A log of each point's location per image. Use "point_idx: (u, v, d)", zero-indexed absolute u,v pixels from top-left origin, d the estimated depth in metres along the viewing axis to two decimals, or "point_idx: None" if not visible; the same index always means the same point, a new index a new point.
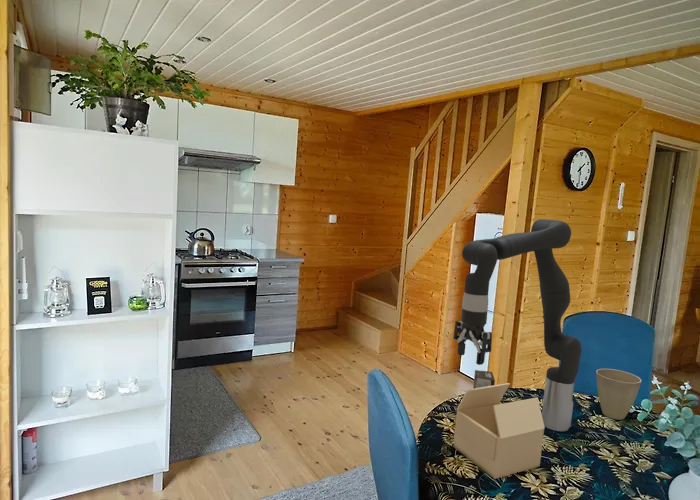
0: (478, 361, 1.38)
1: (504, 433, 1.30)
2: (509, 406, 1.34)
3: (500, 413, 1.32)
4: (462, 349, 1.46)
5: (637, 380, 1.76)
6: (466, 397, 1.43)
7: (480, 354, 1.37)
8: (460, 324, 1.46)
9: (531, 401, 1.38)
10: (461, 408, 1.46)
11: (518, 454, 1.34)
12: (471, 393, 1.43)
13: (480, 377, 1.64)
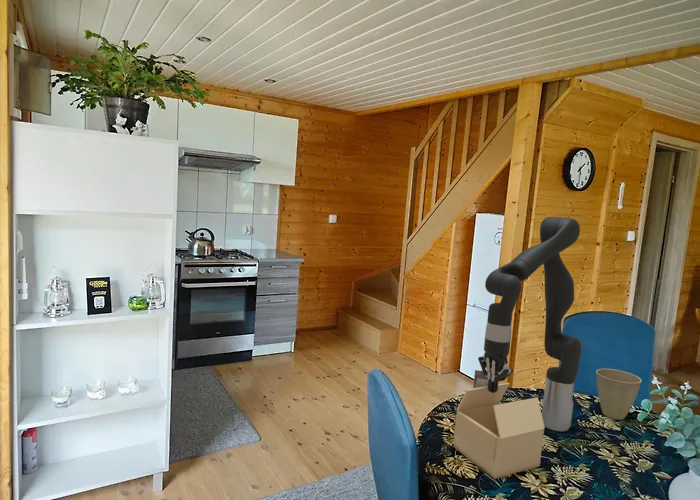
0: (492, 389, 1.43)
1: (504, 433, 1.30)
2: (509, 406, 1.34)
3: (500, 413, 1.32)
4: None
5: (637, 380, 1.76)
6: (466, 397, 1.43)
7: (494, 383, 1.43)
8: (483, 358, 1.47)
9: (531, 401, 1.38)
10: (461, 408, 1.46)
11: (518, 454, 1.34)
12: (471, 393, 1.43)
13: (480, 377, 1.64)
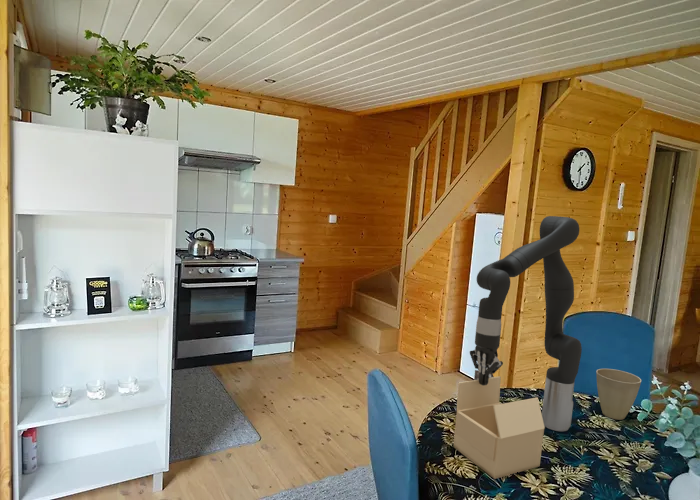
0: (482, 382, 1.47)
1: (504, 433, 1.30)
2: (509, 406, 1.34)
3: (500, 413, 1.32)
4: None
5: (637, 380, 1.76)
6: (460, 392, 1.46)
7: (484, 375, 1.46)
8: (474, 351, 1.51)
9: (531, 401, 1.38)
10: (460, 407, 1.46)
11: (518, 454, 1.34)
12: (464, 387, 1.46)
13: None
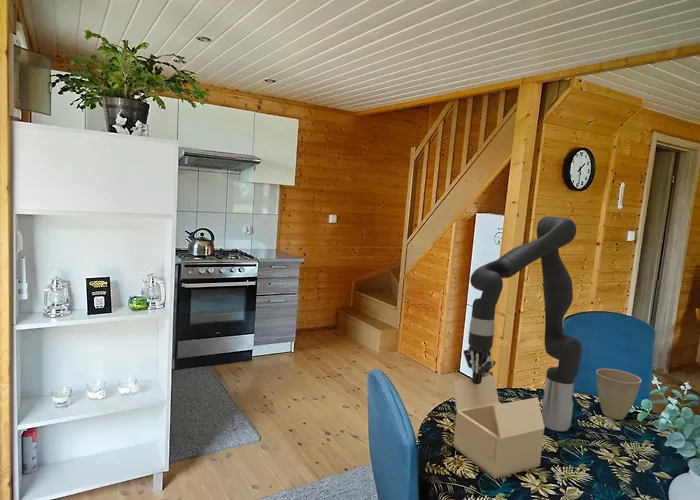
0: (476, 381, 1.50)
1: (504, 433, 1.30)
2: (509, 406, 1.34)
3: (500, 413, 1.32)
4: None
5: (637, 380, 1.76)
6: (456, 391, 1.47)
7: (477, 374, 1.49)
8: (468, 351, 1.54)
9: (531, 401, 1.38)
10: (460, 407, 1.46)
11: (518, 454, 1.34)
12: (459, 385, 1.48)
13: None
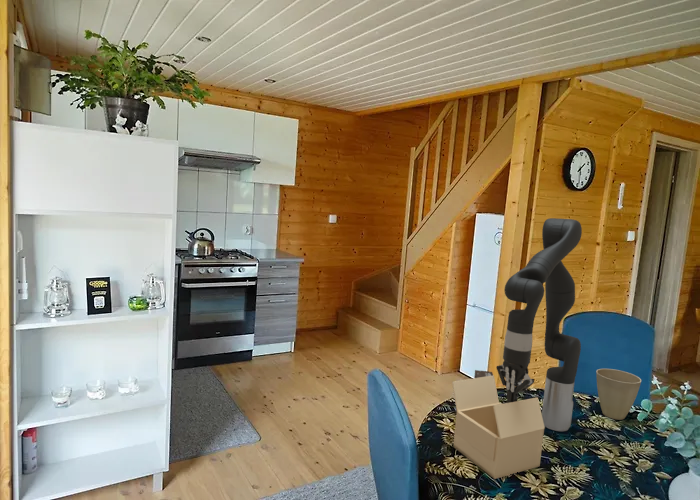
0: (511, 400, 1.36)
1: (504, 433, 1.30)
2: (509, 406, 1.34)
3: (500, 413, 1.32)
4: None
5: (637, 380, 1.76)
6: (456, 391, 1.48)
7: (513, 393, 1.36)
8: (502, 366, 1.40)
9: (531, 401, 1.38)
10: (460, 407, 1.46)
11: (518, 454, 1.34)
12: (458, 385, 1.48)
13: None
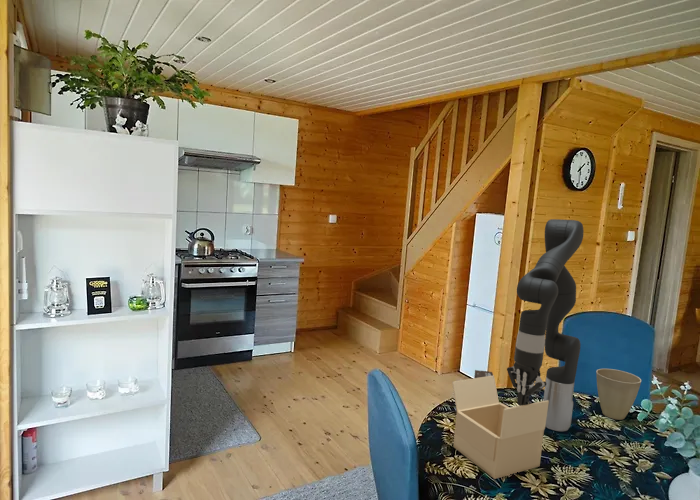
0: (522, 403, 1.33)
1: (506, 434, 1.30)
2: (519, 410, 1.31)
3: (507, 416, 1.29)
4: None
5: (637, 380, 1.76)
6: (456, 391, 1.48)
7: (524, 396, 1.32)
8: (512, 368, 1.37)
9: (541, 404, 1.35)
10: (460, 407, 1.46)
11: (518, 454, 1.34)
12: (458, 385, 1.48)
13: None
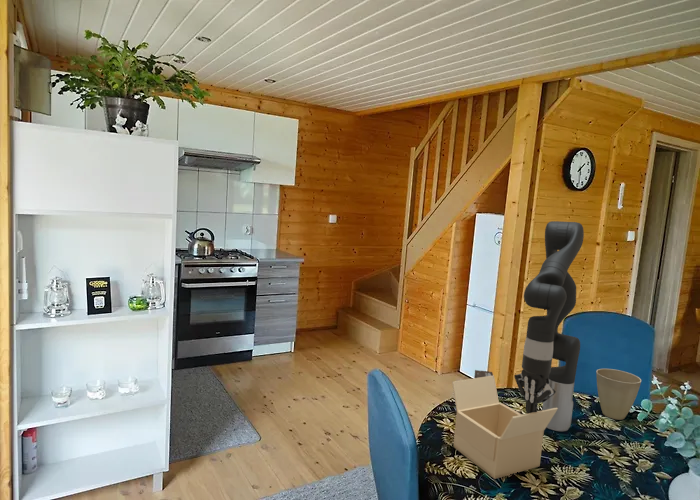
0: (530, 411, 1.30)
1: (506, 436, 1.30)
2: (526, 417, 1.28)
3: (514, 423, 1.27)
4: None
5: (637, 380, 1.76)
6: (456, 391, 1.48)
7: (533, 404, 1.29)
8: (520, 376, 1.34)
9: (549, 412, 1.32)
10: (460, 407, 1.46)
11: (518, 454, 1.34)
12: (458, 385, 1.48)
13: None
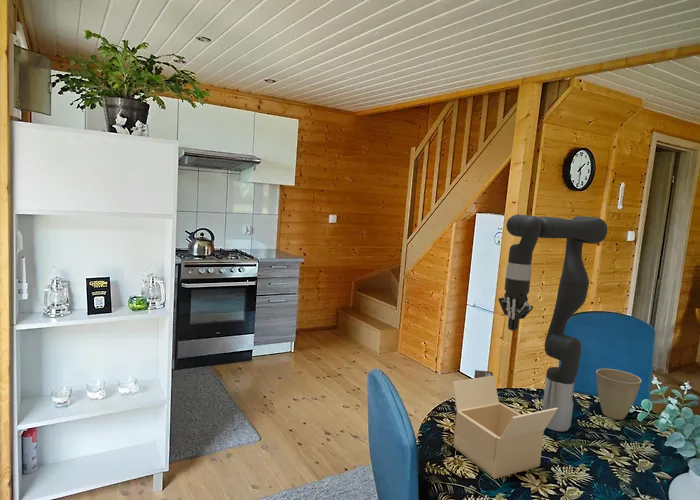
0: (512, 327, 1.49)
1: (506, 436, 1.30)
2: (526, 417, 1.28)
3: (514, 423, 1.27)
4: None
5: (637, 380, 1.76)
6: (456, 391, 1.48)
7: (514, 321, 1.49)
8: (503, 298, 1.53)
9: (549, 412, 1.32)
10: (460, 407, 1.46)
11: (518, 454, 1.34)
12: (458, 385, 1.48)
13: None
